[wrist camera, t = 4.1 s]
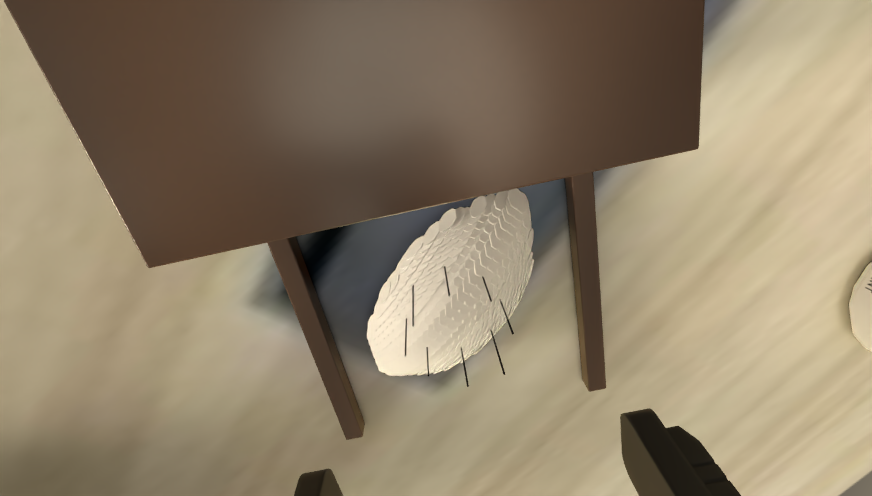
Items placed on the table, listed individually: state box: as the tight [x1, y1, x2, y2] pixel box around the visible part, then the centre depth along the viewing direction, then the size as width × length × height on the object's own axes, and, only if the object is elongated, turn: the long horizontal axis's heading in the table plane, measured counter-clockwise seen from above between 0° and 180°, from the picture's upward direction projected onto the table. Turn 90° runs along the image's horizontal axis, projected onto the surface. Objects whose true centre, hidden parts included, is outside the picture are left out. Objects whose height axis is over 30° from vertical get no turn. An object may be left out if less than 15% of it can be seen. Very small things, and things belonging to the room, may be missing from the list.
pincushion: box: [367, 188, 534, 387], centre depth 19 cm, size 12×6×6 cm, turn 146°
